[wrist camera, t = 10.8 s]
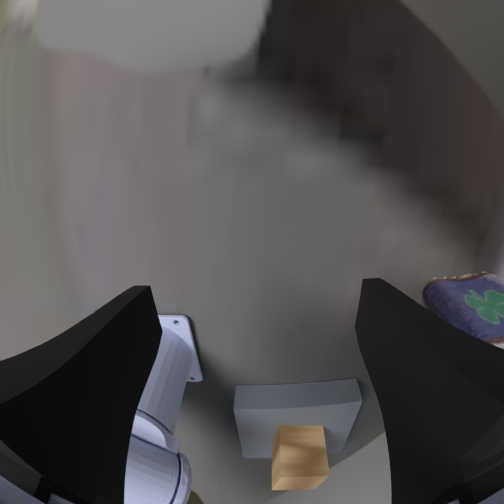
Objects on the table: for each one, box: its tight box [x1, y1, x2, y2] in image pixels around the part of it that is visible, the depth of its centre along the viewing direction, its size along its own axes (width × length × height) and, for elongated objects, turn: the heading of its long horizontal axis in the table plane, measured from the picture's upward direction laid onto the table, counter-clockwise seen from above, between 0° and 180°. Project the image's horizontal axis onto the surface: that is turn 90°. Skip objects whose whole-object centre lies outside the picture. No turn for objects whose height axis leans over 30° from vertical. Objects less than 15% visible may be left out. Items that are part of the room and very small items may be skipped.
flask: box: [422, 272, 504, 349], centre depth 16 cm, size 9×3×11 cm, turn 93°
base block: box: [233, 378, 363, 458], centre depth 27 cm, size 12×12×3 cm
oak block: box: [272, 425, 329, 490], centre depth 23 cm, size 4×4×6 cm
